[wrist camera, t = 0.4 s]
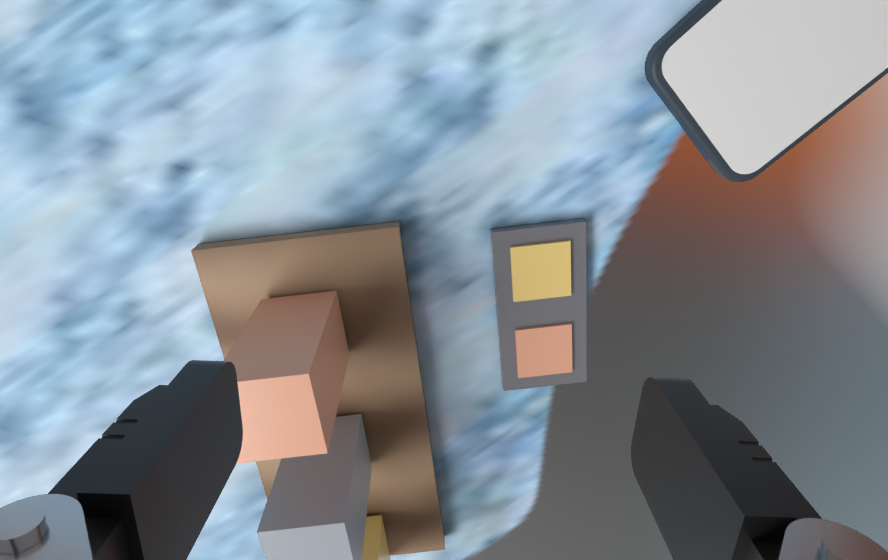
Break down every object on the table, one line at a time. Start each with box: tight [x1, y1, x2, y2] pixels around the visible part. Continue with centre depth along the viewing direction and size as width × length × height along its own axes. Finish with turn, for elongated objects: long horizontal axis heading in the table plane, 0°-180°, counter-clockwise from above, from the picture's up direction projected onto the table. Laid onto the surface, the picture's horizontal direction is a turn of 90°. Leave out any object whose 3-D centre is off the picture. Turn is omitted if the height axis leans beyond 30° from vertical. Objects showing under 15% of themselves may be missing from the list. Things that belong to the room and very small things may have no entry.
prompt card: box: [491, 219, 587, 391], centre depth 31 cm, size 10×5×1 cm, turn 6°
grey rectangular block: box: [257, 414, 372, 560], centre depth 29 cm, size 4×4×8 cm
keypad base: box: [191, 221, 445, 555], centre depth 33 cm, size 23×11×1 cm, turn 6°
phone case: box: [645, 0, 888, 182], centre depth 26 cm, size 9×2×16 cm
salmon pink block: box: [224, 291, 350, 464], centre depth 26 cm, size 4×4×8 cm
